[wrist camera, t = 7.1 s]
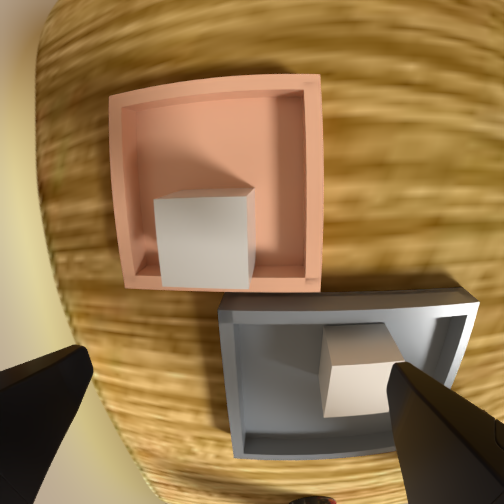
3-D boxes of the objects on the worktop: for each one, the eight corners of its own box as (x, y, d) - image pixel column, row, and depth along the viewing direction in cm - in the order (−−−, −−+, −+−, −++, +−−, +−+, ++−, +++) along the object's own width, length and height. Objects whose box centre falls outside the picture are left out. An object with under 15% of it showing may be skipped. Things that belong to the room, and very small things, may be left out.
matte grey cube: (254, 187, 16) (246, 196, 12) (256, 260, 17) (248, 289, 13) (182, 189, 16) (153, 199, 12) (186, 259, 17) (162, 286, 14)
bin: (462, 287, 17) (479, 301, 15) (415, 427, 21) (422, 445, 19) (225, 291, 18) (217, 310, 16) (237, 437, 23) (234, 457, 20)
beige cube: (384, 323, 18) (404, 360, 14) (374, 372, 19) (388, 412, 15) (323, 326, 18) (332, 365, 14) (318, 375, 19) (323, 417, 15)
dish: (314, 86, 14) (320, 74, 12) (315, 275, 18) (320, 292, 15) (129, 102, 16) (108, 96, 13) (141, 273, 19) (125, 288, 16)
